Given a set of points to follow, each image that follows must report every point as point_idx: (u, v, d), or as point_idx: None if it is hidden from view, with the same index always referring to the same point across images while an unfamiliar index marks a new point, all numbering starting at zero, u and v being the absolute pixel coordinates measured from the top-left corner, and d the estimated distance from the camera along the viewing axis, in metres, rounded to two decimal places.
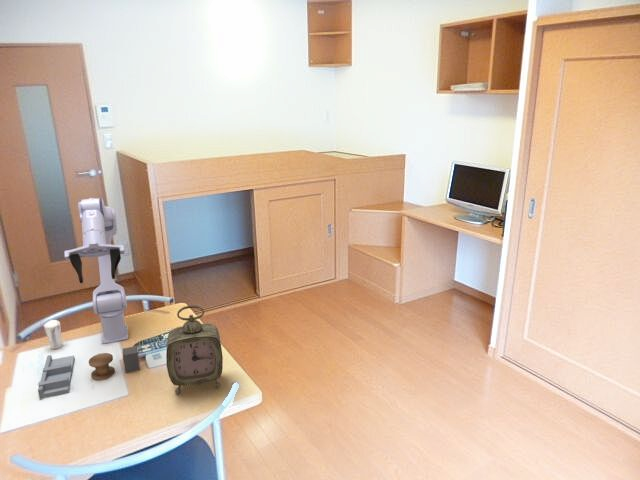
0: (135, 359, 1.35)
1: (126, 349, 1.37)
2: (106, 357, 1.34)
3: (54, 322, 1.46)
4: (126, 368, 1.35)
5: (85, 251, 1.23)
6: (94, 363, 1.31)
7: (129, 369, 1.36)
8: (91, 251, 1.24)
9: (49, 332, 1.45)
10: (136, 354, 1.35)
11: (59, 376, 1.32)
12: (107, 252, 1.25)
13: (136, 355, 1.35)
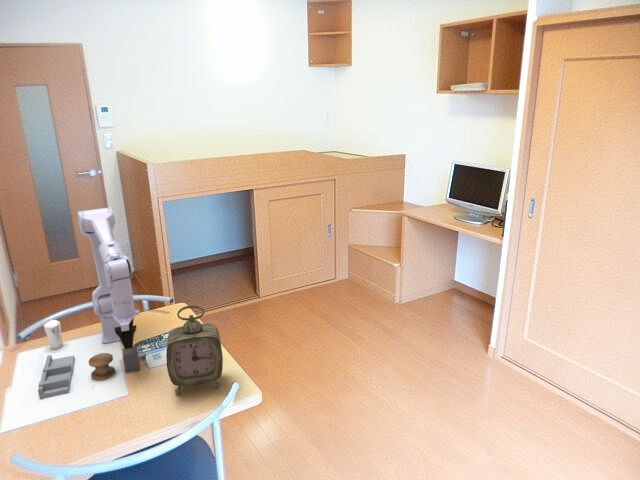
0: (135, 359, 1.35)
1: (126, 349, 1.37)
2: (106, 357, 1.34)
3: (54, 322, 1.46)
4: (126, 368, 1.35)
5: None
6: (94, 363, 1.31)
7: (129, 369, 1.36)
8: None
9: (49, 332, 1.45)
10: (136, 354, 1.35)
11: (59, 376, 1.32)
12: None
13: (136, 355, 1.35)
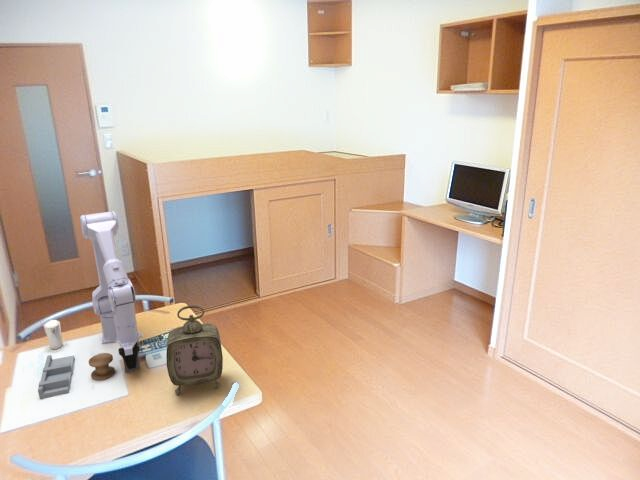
0: None
1: None
2: (106, 357, 1.34)
3: (54, 322, 1.46)
4: (126, 368, 1.35)
5: None
6: (94, 363, 1.31)
7: (129, 369, 1.36)
8: None
9: (49, 332, 1.45)
10: None
11: (59, 376, 1.32)
12: None
13: None
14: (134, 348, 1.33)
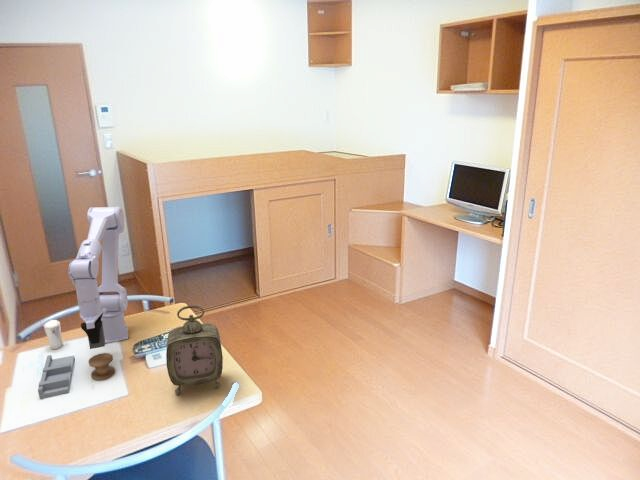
0: (100, 335, 1.37)
1: None
2: (106, 357, 1.34)
3: (54, 322, 1.46)
4: (91, 344, 1.36)
5: None
6: (94, 363, 1.31)
7: (94, 345, 1.37)
8: None
9: (49, 332, 1.45)
10: (101, 330, 1.36)
11: (59, 376, 1.32)
12: None
13: (101, 331, 1.36)
14: (97, 323, 1.34)
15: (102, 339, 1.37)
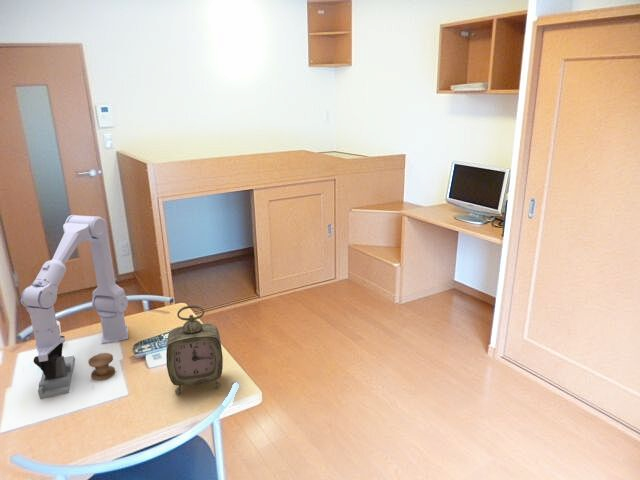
0: (59, 370, 1.28)
1: None
2: (106, 357, 1.34)
3: None
4: None
5: None
6: (94, 363, 1.31)
7: None
8: None
9: None
10: (60, 365, 1.28)
11: None
12: None
13: (60, 366, 1.28)
14: (51, 357, 1.23)
15: (62, 374, 1.28)
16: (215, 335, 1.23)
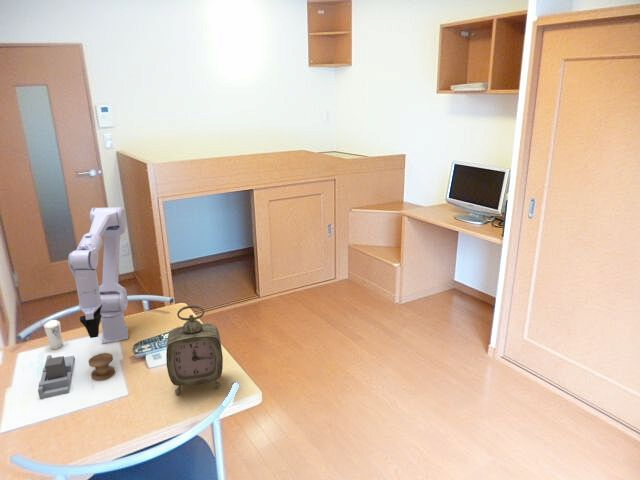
0: (59, 370, 1.28)
1: (51, 359, 1.29)
2: (106, 357, 1.34)
3: (54, 322, 1.46)
4: None
5: None
6: (94, 363, 1.31)
7: None
8: None
9: (49, 332, 1.45)
10: (60, 365, 1.28)
11: None
12: None
13: (60, 366, 1.28)
14: (96, 316, 1.32)
15: (62, 374, 1.28)
16: (215, 335, 1.23)
